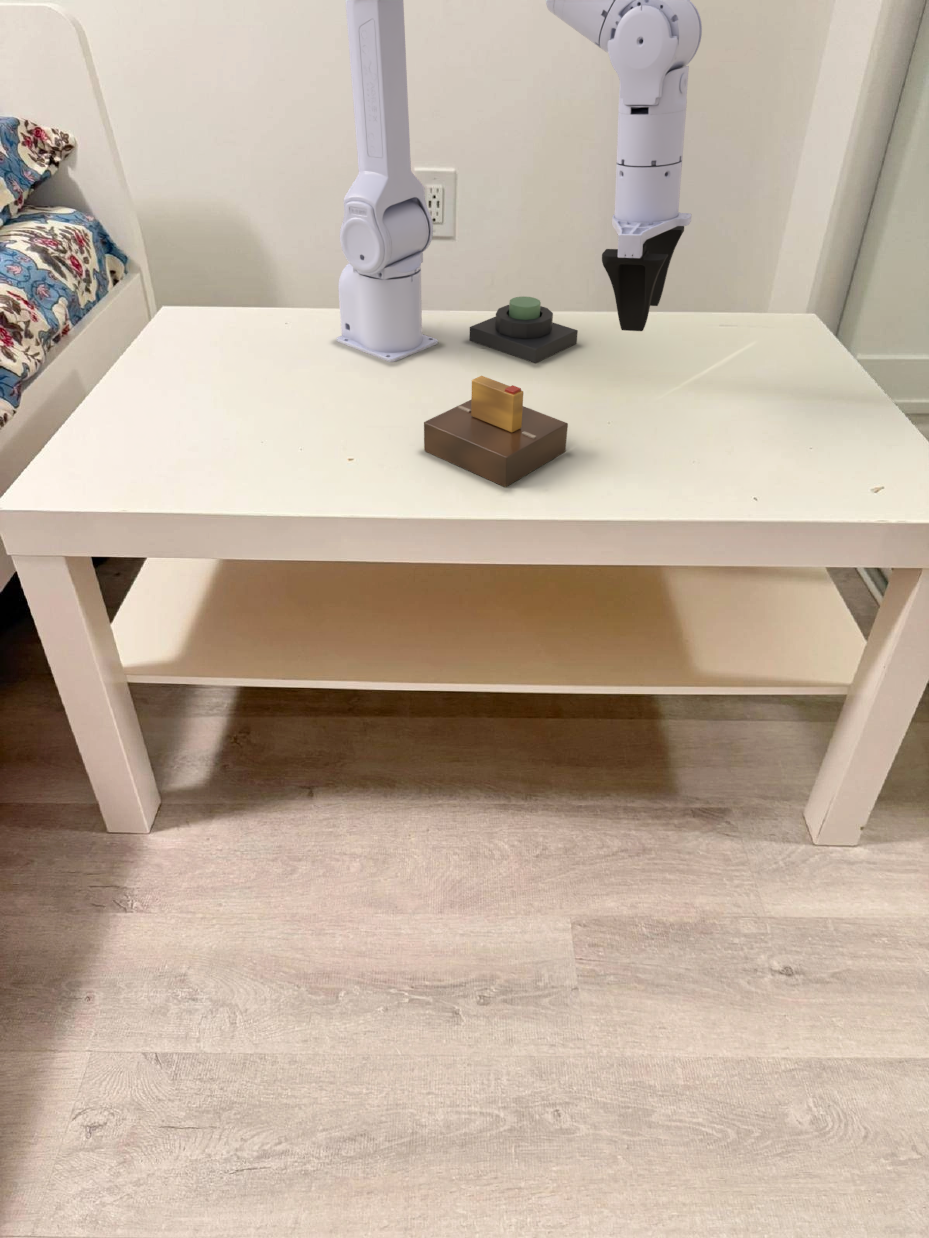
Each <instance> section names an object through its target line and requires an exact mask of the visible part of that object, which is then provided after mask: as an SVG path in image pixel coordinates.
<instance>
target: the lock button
mask: <svg viewBox="0 0 929 1238" xmlns="http://www.w3.org/2000/svg"><path fill="white" fill-rule="evenodd" d="M508 302H509V304H508V305H509V317H512V318H515V319H520V320H531V319H537V318H539V317H540V306H542V305H541V304H542V302H541V300H540V299H538V298H536V297H534V296H533V297H532V296H524V295H523V296H515V297H512V298H511V299H510V300H509V301H508Z"/></svg>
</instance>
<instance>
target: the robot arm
mask: <svg viewBox="0 0 929 1238" xmlns="http://www.w3.org/2000/svg"><path fill="white" fill-rule="evenodd" d="M344 1H345V12H346V13H345V14H346V15H345V16H346V27H347V39H348V52H349V66H350V77H351V79H350V80H351V91H352V104H353V116H354V118H353V119H354V129H355V142H356V143H355V145H356V155H357V168H358V173H357V175H356V178H355V179H354V181H352V183H351V185H350V187H349V189H348V191H347V192H346V194H345V196H343V197H344V198H343V219H342V223H341V226H340V229H339V243H340V248H341V251H342V254H343V255H344V258H345V260H346V261H347V264H346V265H345V266H344V268H343V269H342V271H341V273H340V275H339V280H338V284H337V285H338V286H337V287H338V288H337V289H338V290H337V291H338V303H339V316H340V329H341V335H340V336H337V337H336V342H337V343H339V344H342V345H344V346H348V347H350V348H351V349H355V350H357V351H360V352H363V353H366V354H368V355H370V356H373V357H375V358H378V359H380V360H383V361H386V362H388V363H394V362H397V361H399V360H403V359H404V358H407V357H410V356H412V355H414V354H417V353H419V352H421V351H424V350H426V349H429V348H432V347H434V346H436V345H438V344H439V340H438V339H437V338H434V337H431V336H429V335H426V334H423V306H422V305H423V303H422V263H424V252H425V251H426V250H427V249H428V248H429V246H430V245H431V243H432V241H433V236H434V222H433V219H432V216H431V213H430V211H429V207H428V206H427V201H426V190H425V186H424V184H423V183H422V181H420V179H418V178H417V176H416V175H415V174H414V173H413V172H412V164H411V162H412V161H411V143H410V141H411V140H410V139H411V138H410V120H409V96H408V95H409V94H408V76H407V74H408V73H407V71H408V70H407V51H406V29H405V7H404V5H405V3H404V0H344ZM545 6H546V8H547V10H548V11H549V12H550V13H551V14H553V15H554V16H556V17H557V18H558V19H559V20H561V21H562V22H564V23H565V24H566V25H568V26H569V27H571V28H572V29H573V30H575V31H576V32H578V34H580V35H581V36H583V37H585V38H586V39H587V40H588V41H589V42H591V43H592V44H594V45H596V46H597V47H598V48H600V49H601V50H602V51H604V52H605V53H608V57H609V61H610V64H611V66H612V67H613V70H614V72H615V73H616V75H617V77H618V80H619V89H618V113H617V134H616V136H617V138H616V139H617V140H616V164H615V191H614V214H613V215H612V216H611V226H612V227H613V229H614V231H615V233H616V234H617V248H606V249H605V250H604V251H603V252H602V254H601V262H602V266H603V268H604V270H605V272H606V274H607V276H608V278H609V281H610V284H611V287H612V289H613V295H614V299H615V304H616V310H617V316H618V322H619V327H620V330H621V331H630V332H643V331H645V330H644V329H645V328H646V325H647V322H648V317H649V314H650V309H651V308H650V307H658V306H659V304H660V302H661V299H662V295H663V292H664V287H665V282H666V279H667V275H668V271H669V268H670V264H671V261H672V258H673V256H674V252H675V250H676V247H677V245H678V243H679V241H680V239H681V236H682V235H683V233H684V232H685V227H687V226H689V225H690V224H691V222H692V217H693V216H692V213H689V212H679V211H680V210H679V209H680V197H681V196H680V195H681V185H682V184H681V183H682V168H683V159H684V158H683V157H684V145H685V144H684V143H685V131H686V117H687V107H688V105H687V103H688V98H687V97H688V85H689V83H688V82H689V72H690V71H689V70H690V66H689V64H690V63H691V61H692V60H693V59H694V58H695V56H696V55H697V52H698V50H699V47H700V44H701V40H702V35H703V26H702V19H701V16H700V13H699V11H698V8H697V7H696V6H695V4H694V3H693V2H692V0H545Z"/></svg>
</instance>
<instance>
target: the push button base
mask: <svg viewBox="0 0 929 1238" xmlns="http://www.w3.org/2000/svg"><path fill="white" fill-rule="evenodd" d="M553 319H554V312H552V311H551V310H550V309H549V308H548V307H545V306H542V305H540V317H539V318H537V319H531V320H520V319H515V318H512V317H509V304H507V305H504V306H501V307H499V308H498V309H497V310H496V312H495V316H493V317H491V318H488V319H486V320H484V321H480V322H479V323H476V324H474V325H471V326H469V339H468V340H469V342H472V343H475V344H478V345H481V346H483V347H487V348H490V349H492V350H495V351H498V352H500V353H501V352H502V353H505V354H506V355H510V356H513V357H515V358H518V359H521V360H524V361H526V362H529V363H532V364H537V363H539V362H541V361H544V360H546V359H549V358H550V357H552V356H554V355H556V354H559V353H561V352H563V351H564V350H567V349H569V348H571V347H573V346H575V345H577V344H578V343H577V342H578V332H579V331H578V330H577V329H575V328H572V327H569V326H565V325H562V324H560V323H555V322H553Z"/></svg>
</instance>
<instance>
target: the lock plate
mask: <svg viewBox="0 0 929 1238" xmlns="http://www.w3.org/2000/svg"><path fill="white" fill-rule="evenodd" d="M568 427H569V423H568V422H566V421H563V420H560V419H558V418H555V417H552V416H550V415H547V414H545V413H542V412H539V411H537V410H534V409H532V408H529V407H526V406H524V405H523V409H522V426H521V428H520V429H518V430H516V431H514V432H509V431H507V430H504V429H502V428H500V427H497V426H495V425H492V424H490V423H487V422H485V421H482V420H480V419H477V418H475V417H472V416H471V399H469V400H467V401H465V402H463V403H460V404H458V405H456V406H454V407H452V408H450V409H448V410H446V411H444V412H442V413H440V414H437V415H435V416H434V417H432V418H429V419H428V420H426V421H424V422H423V447H424V448H423V450H424V452H426V453H428V454H431V455H432V456H435V457H437V458H439V459H442V460H444V461H446V462H448V463H450V464H453V465H455V466H457V467H459V468H461V469H464V470H466V471H468V472H471V473H473V474H474V475H475V474H476V475H477V476H479V477H482V478H484V479H486V480H489V481H491V482H493V483H495V484H498V485H500V486H501V487H504V488H506V487H508V486H510V485H511V484H514V483H516V482H517V481H518V480H520V479H522V478H524V477H525V476H527V475H528V474H530V473H532V472H534V471H535V470H537V469H539V468H541V467H542V466H544V465H545V464H548V463H549V462H550V461H552V460H554V459H556V458H557V457H559V456H561V455H562V454H564V453H566V451H567V450H566V449H567V437H568Z"/></svg>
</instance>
